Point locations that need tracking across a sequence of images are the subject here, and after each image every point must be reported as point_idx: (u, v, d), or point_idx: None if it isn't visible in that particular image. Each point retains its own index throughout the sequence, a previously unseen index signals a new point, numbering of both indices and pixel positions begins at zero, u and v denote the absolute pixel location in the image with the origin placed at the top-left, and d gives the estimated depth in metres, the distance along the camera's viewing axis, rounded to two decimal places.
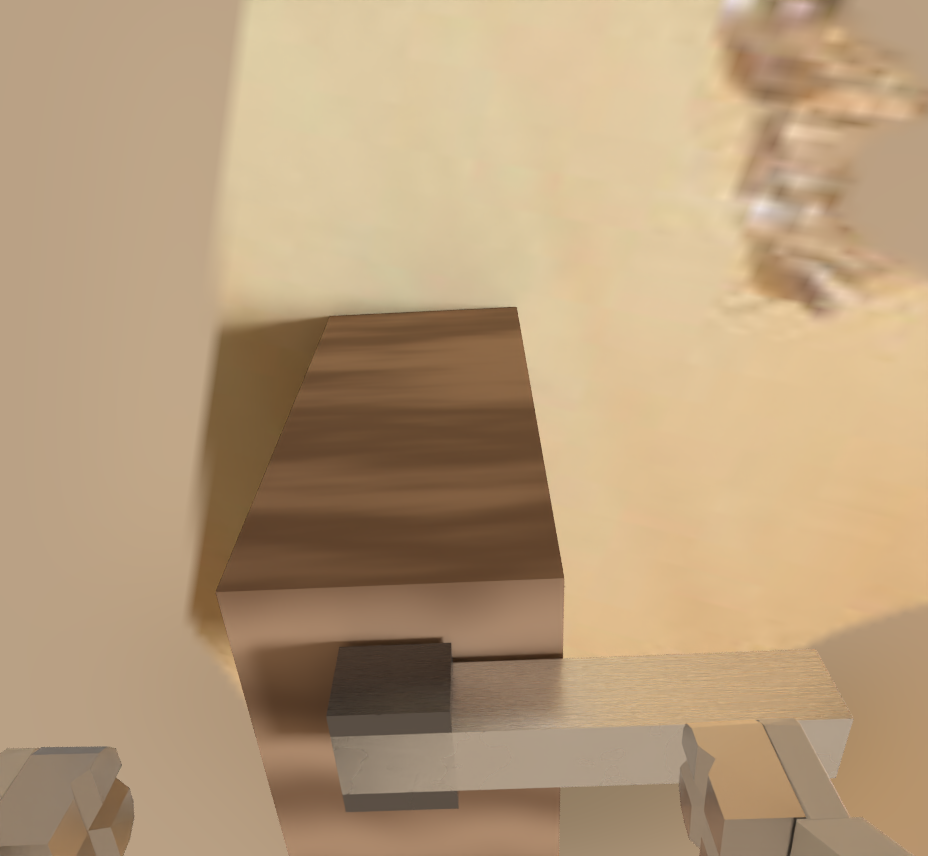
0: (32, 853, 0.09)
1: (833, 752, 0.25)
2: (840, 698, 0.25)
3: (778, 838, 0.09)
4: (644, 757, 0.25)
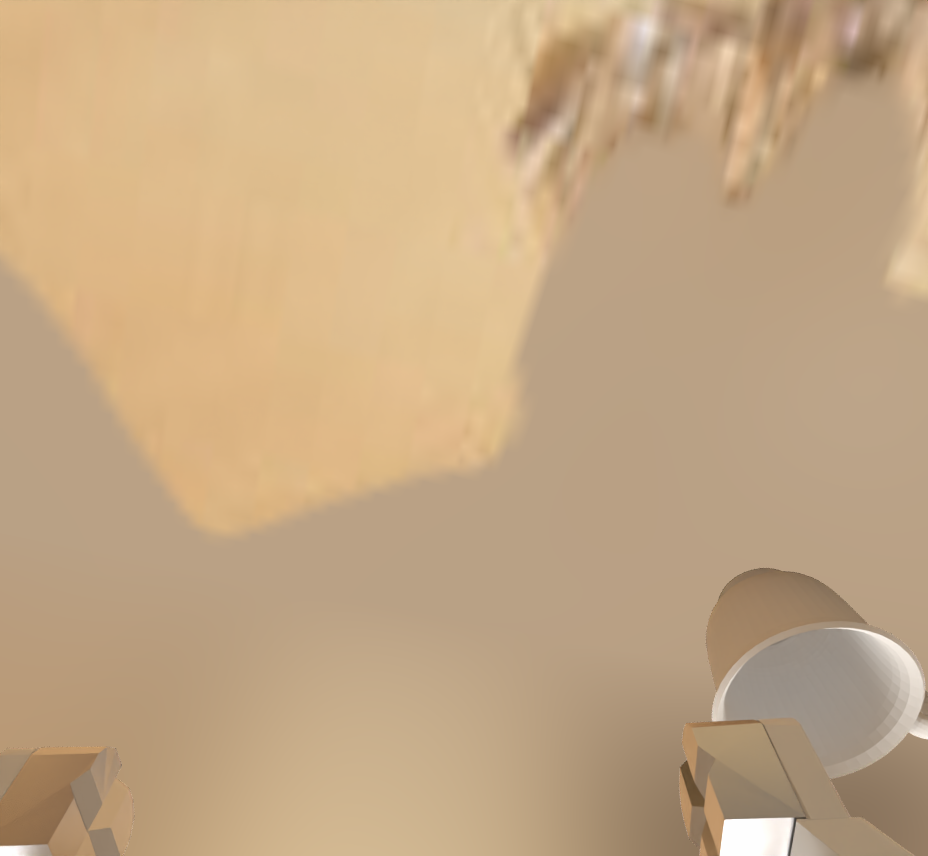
0: (32, 852, 0.09)
1: None
2: None
3: (778, 838, 0.09)
4: None
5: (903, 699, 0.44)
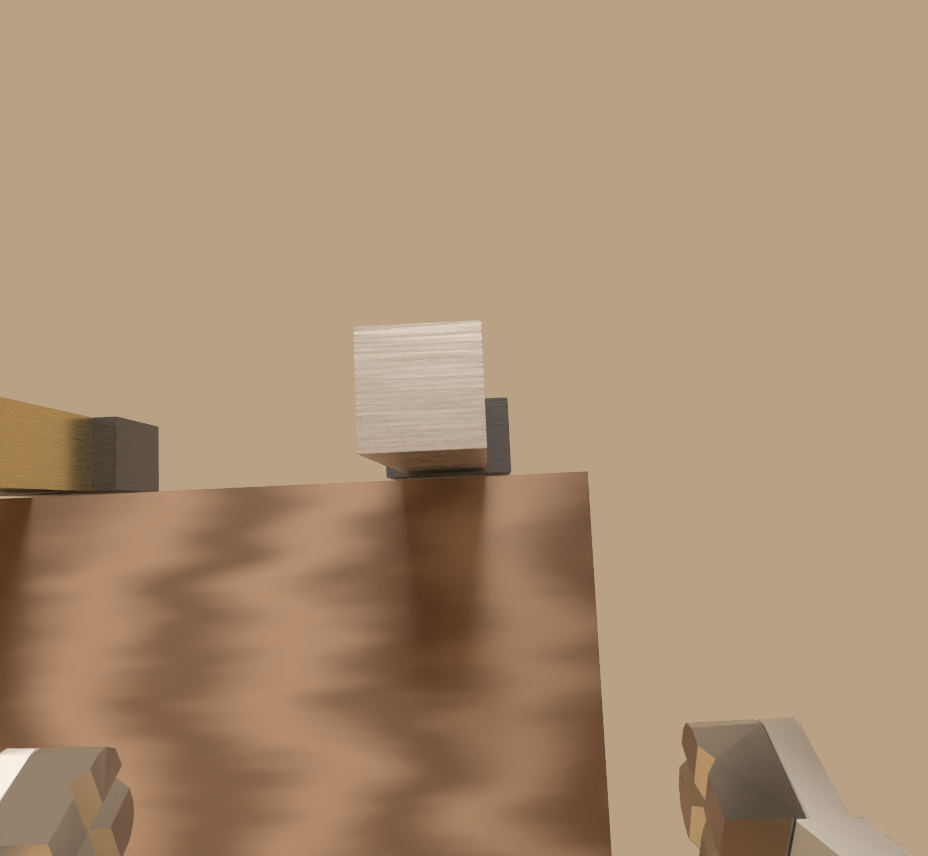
0: (32, 853, 0.09)
1: None
2: (481, 355, 0.18)
3: (778, 838, 0.09)
4: None
5: None
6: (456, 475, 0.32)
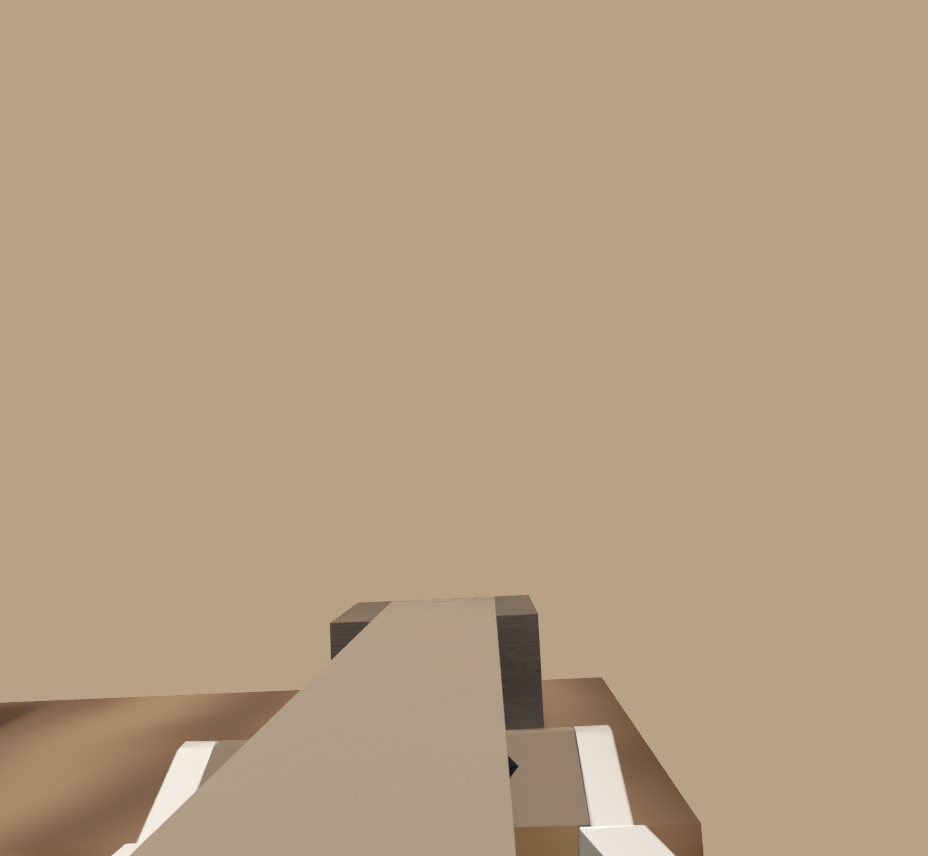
0: None
1: None
2: None
3: (565, 846, 0.09)
4: (400, 676, 0.12)
5: None
6: None
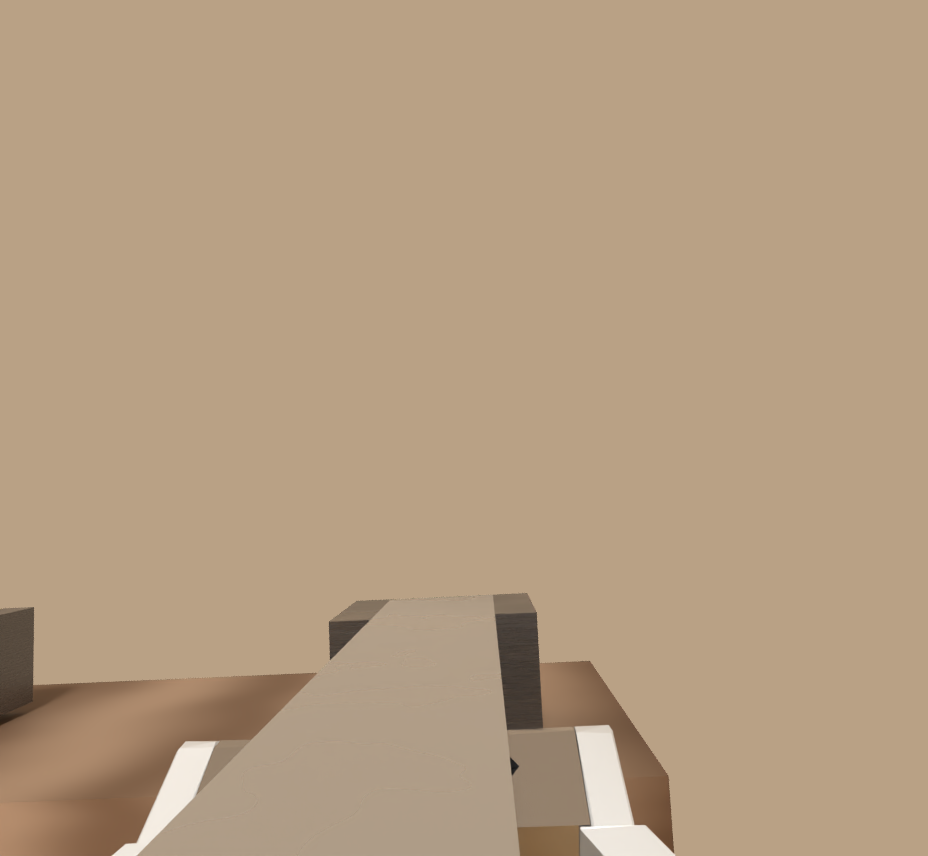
0: None
1: None
2: None
3: (566, 846, 0.09)
4: (400, 676, 0.12)
5: None
6: None
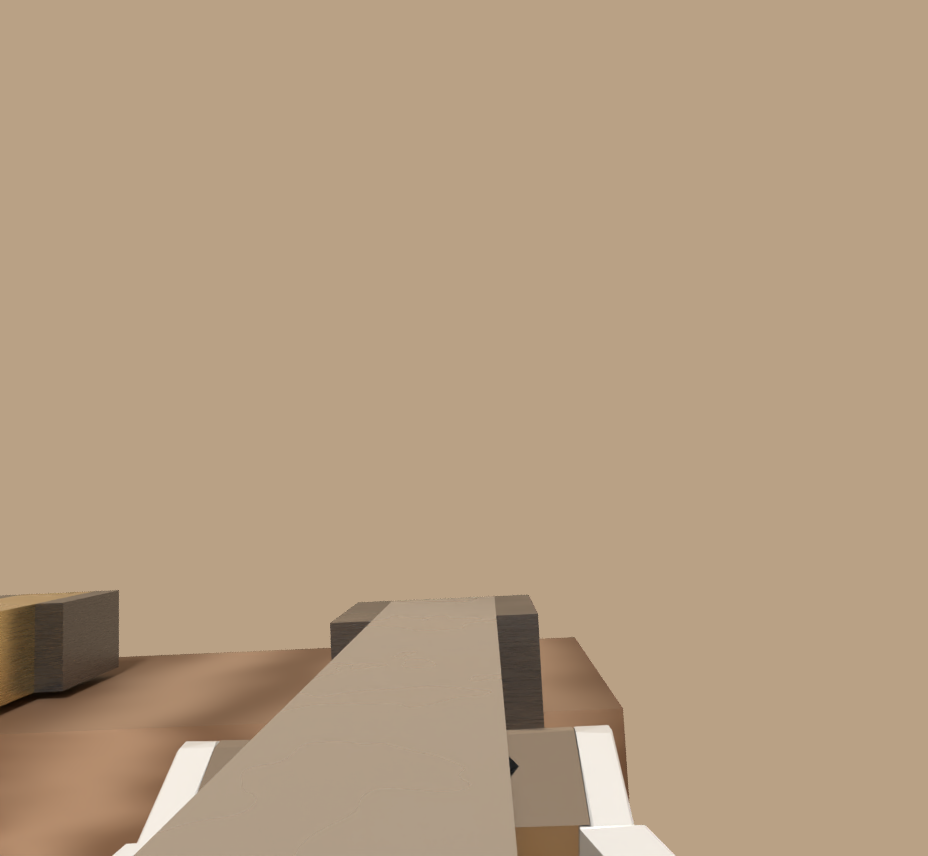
0: None
1: None
2: None
3: (565, 846, 0.09)
4: (400, 677, 0.12)
5: None
6: None
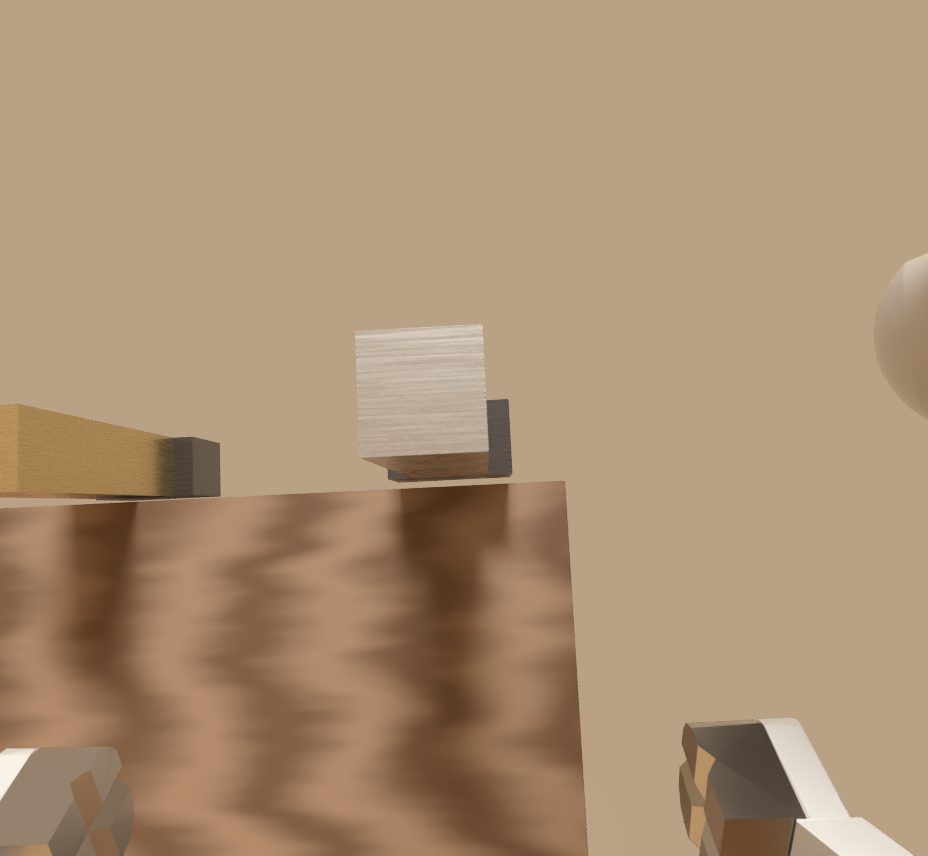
0: (33, 852, 0.09)
1: None
2: (483, 358, 0.18)
3: (778, 838, 0.09)
4: None
5: None
6: (457, 477, 0.32)
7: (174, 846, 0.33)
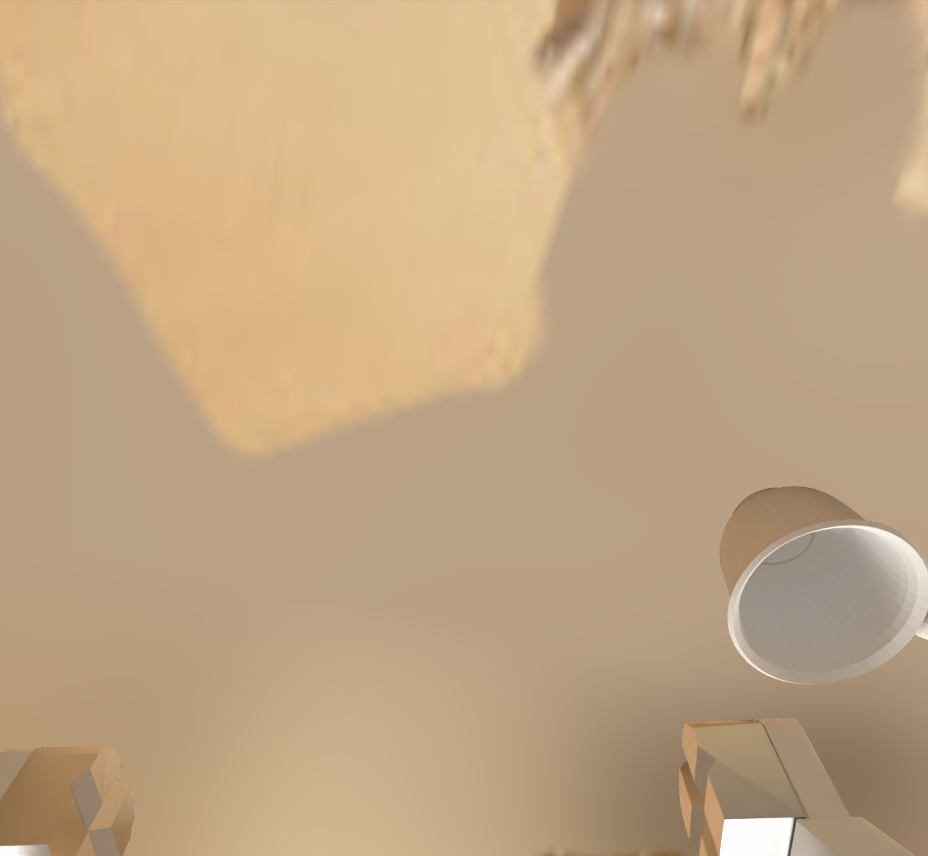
0: (32, 852, 0.09)
1: None
2: None
3: (778, 838, 0.09)
4: None
5: (910, 601, 0.46)
6: None
7: None
